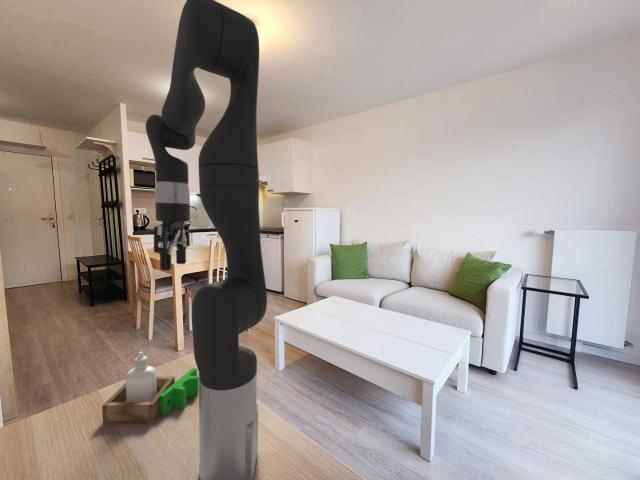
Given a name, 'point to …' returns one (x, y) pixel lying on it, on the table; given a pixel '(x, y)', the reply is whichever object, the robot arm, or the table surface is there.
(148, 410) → the box
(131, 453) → the table surface
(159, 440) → the table surface
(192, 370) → the pipe clamp
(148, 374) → the eye dropper bottle
